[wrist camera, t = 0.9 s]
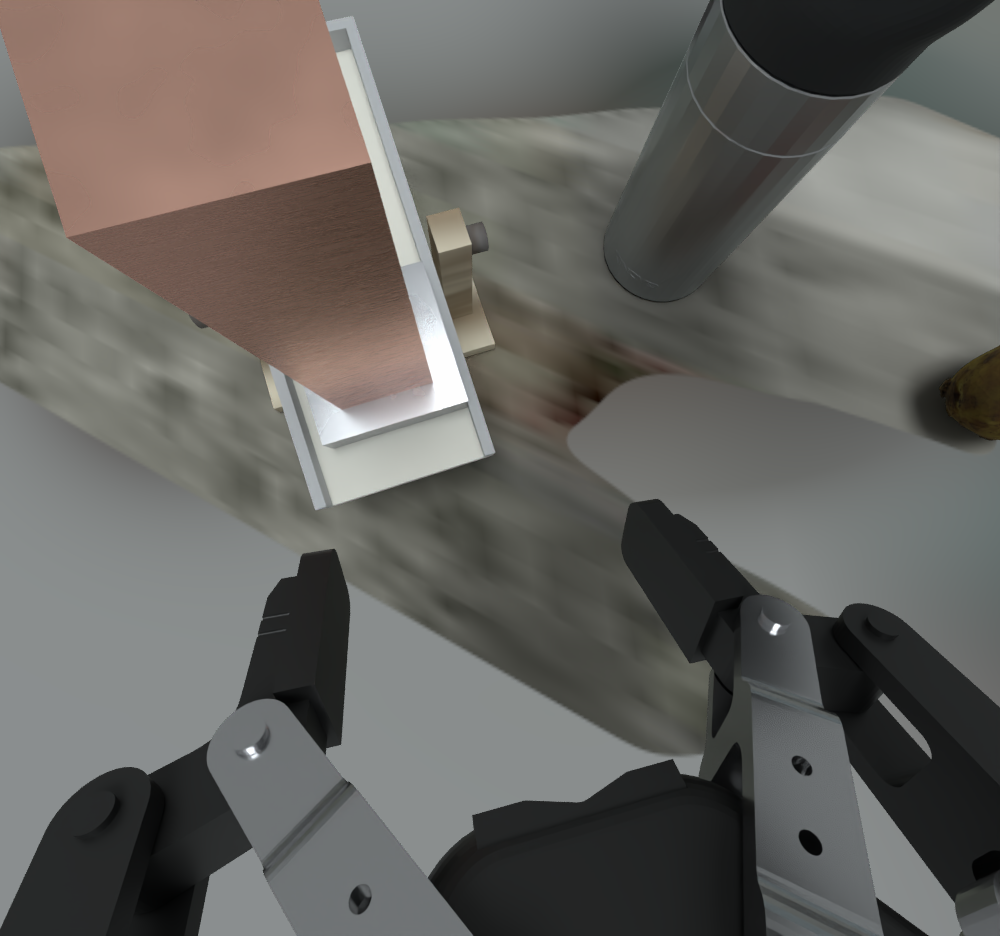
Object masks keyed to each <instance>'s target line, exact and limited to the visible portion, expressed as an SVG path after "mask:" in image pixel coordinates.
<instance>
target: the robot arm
mask: <svg viewBox="0 0 1000 936" xmlns="http://www.w3.org/2000/svg"><path fill="white" fill-rule="evenodd" d="M993 1H994V0H710V1H709V3H708V5H707V7H706V10H705V12H704V14H703V16H702V18H701V21H700V23H699V25H698V27H697V30H696V32H695V34H694V36H693V39H692V41H691V43H690V46H689V48H688V50H687V52H686V55H685V57H684V59H683V61H682V64H681V66H680V68H679V70H678V72H677V75H676V77H675V79H674V81H673V83H672V86H671V88H670V91H669V92H668V94H667V97H666V99H665V101H664V103H663V105H662V108H661V110H660V112H659V114H658V116H657V119H656V121H655V123H654V125H653V128H652V130H651V132H650V134H649V136H648V139H647V141H646V143H645V145H644V147H643V150H642V152H641V154H640V156H639V158H638V161H637V163H636V165H635V167H634V170H633V172H632V174H631V176H630V178H629V181H628V183H627V185H626V187H625V189H624V191H623V193H622V196H621V198H620V200H619V202H618V205H617V207H616V209H615V211H614V214H613V216H612V218H611V220H610V222H609V225H608V227H607V230H606V233H605V237H604V253H605V259H606V261H607V264H608V267H609V269H610V271H611V272H612V274H613V275H614V277H615V279H616V280H617V281H618V282H619V283H620V284H621V285H622V286H623V287H624V288H626V289H627V290H629V291H630V292H632V293H633V294H635V295H637V296H639V297H642V298H644V299H648V300H653V301H672V300H677V299H680V298H683V297H685V296H687V295H689V294H691V293H692V292H693V291H695V290H696V289H698V287H699V286H700V285H701V284H702V283H703V282H704V281H705V280H706V279H707V278H708V277H709V276H710V275H711V274H712V273H713V272H714V271H715V270H716V269H717V267H718V266H719V265H720V264H721V263H722V262H723V261H724V260H725V259H726V258H727V257H728V256H729V255H730V254H731V253H732V252H733V251H734V250H735V249H736V248H737V247H738V246H739V245H740V244H741V243H742V242H743V241H744V239H745V238H746V237H747V236H748V235H749V234H750V233H751V232H752V231H753V230H754V229H755V228H756V227H757V226H758V225H759V224H760V223H761V222H762V221H763V219H764V218H765V217H766V216H767V215H768V214H769V213H770V212H771V211H772V210H773V209H774V208H775V207H776V206H777V205H778V204H779V203H780V202H781V201H782V200H783V198H784V197H785V196H786V195H787V194H788V193H789V192H790V191H791V190H792V189H793V188H794V187H795V186H796V185H797V184H798V183H799V182H800V181H801V180H802V178H803V177H804V176H805V175H806V174H807V173H808V172H809V171H810V170H811V169H812V168H813V167H814V166H815V165H816V164H817V163H818V162H819V161H820V160H821V159H822V157H823V156H824V155H825V154H826V153H827V152H828V151H829V150H830V149H831V148H832V147H833V146H834V145H835V144H836V143H837V142H838V141H839V140H840V139H841V137H842V136H843V135H844V134H845V133H846V132H847V131H848V130H849V129H850V128H851V127H852V125H853V124H854V123H855V122H856V121H857V120H858V119H859V118H860V117H861V116H862V115H863V114H864V113H865V112H866V111H867V110H868V109H869V108H870V107H871V105H872V104H873V103H874V102H875V101H876V100H877V99H878V98H879V97H880V96H881V95H882V94H883V93H884V92H885V91H886V90H887V89H888V88H889V86H890V85H891V84H892V83H893V82H894V81H895V80H896V79H897V78H898V77H899V76H900V75H901V74H902V73H903V71H904V70H905V69H906V68H908V66H909V65H910V64H911V63H912V62H913V61H914V60H915V59H916V58H917V57H918V56H919V55H920V54H921V53H922V52H923V51H924V50H925V49H926V48H927V47H928V46H929V45H930V44H932V43H933V42H935V41H936V40H938V39H939V38H941V37H942V36H944V35H945V34H947V33H949V32H951V31H952V30H954V29H956V28H957V27H959V26H960V25H962V24H963V23H965V22H966V21H968V20H969V19H971V18H972V17H973V16H975V15H976V14H977V13H979V12H980V11H981V10H983V9H984V8H985V7H986V6H988V5H989V4H990V3H992V2H993ZM621 548H622V554H623V558H624V560H625V562H626V564H627V566H628V567H629V569H630V571H631V572H632V574H633V575H634V577H635V578H636V580H637V582H638V583H639V585H640V586H641V588H642V589H643V591H644V592H645V594H646V596H647V597H648V599H649V600H650V602H651V603H652V605H653V607H654V608H655V610H656V611H657V613H658V614H659V616H660V618H661V619H662V621H663V622H664V624H665V625H666V627H667V628H668V630H669V632H670V633H671V635H672V636H673V638H674V639H675V641H676V643H677V644H678V646H679V647H680V649H681V650H682V652H683V653H684V655H685V657H686V658H687V660H688V661H689V663H695V662H699V661H703V660H707V661H708V663H709V664H710V666H711V667H712V669H711V671H710V675H709V689H708V708H707V726H706V743H705V750H704V755H703V759H702V762H701V766H700V772H699V777H695V776H689V775H684V774H680V773H679V771H678V769H677V767H676V765H675V763H674V761H673V759H672V760H668V761H665V762H661V763H657V764H654V765H650V766H646V767H643V768H640V769H636V770H632V771H629V772H626V773H625V774H623V775H622V776H620V777H619V778H618V779H616V780H615V781H613V782H612V783H610V784H609V785H607V786H606V787H605V788H603V789H602V790H600V791H599V792H597V793H596V794H594V795H593V796H592V797H590V798H589V799H587V800H585V801H584V802H578V803H573V802H549V801H522V802H518V803H514V804H511V805H507V806H504V807H500V808H497V809H493V810H490V811H486V812H482V813H479V814H476V815H472V816H473V826H474V830H473V831H472V832H470V833H469V834H467V835H466V836H464V837H463V838H462V839H461V840H459V841H458V842H457V843H456V844H455V845H454V846H453V847H452V848H450V849H449V851H448V852H447V853H446V854H445V855H444V856H443V857H442V858H441V860H440V861H439V862H438V864H437V865H436V867H435V868H434V869H433V871H432V872H431V874H430V875H429V877H428V878H427V877H426V875H425V874H424V873H423V872H422V871H421V869H420V868H419V867H418V865H417V864H416V863H415V862H414V861H413V859H412V858H411V856H410V855H409V854H408V853H407V851H406V850H405V849H404V848H403V847H402V845H401V844H400V843H399V842H398V840H397V839H396V838H395V836H394V835H393V834H392V833H391V832H390V830H389V829H388V827H387V826H386V825H385V824H384V822H383V821H382V820H381V819H380V818H379V816H378V815H377V814H376V812H375V811H374V810H373V809H372V807H371V806H370V805H369V804H368V802H367V801H366V800H365V798H364V797H363V796H362V795H361V794H360V792H359V791H358V790H357V789H356V788H355V787H354V786H353V785H352V784H351V783H350V782H347V781H346V780H345V779H344V778H343V777H342V776H341V774H340V773H339V772H338V771H337V769H336V768H335V767H334V765H333V764H332V763H331V762H330V760H329V759H328V758H327V757H326V748H329V747H333V746H338V745H341V738H342V724H343V709H344V695H345V680H346V666H347V651H348V636H349V621H350V600H349V594H348V589H347V585H346V582H345V579H344V575H343V572H342V568H341V565H340V562H339V558H338V555H337V552H336V550H335V549H330V550H323V551H317V552H311V553H304V554H302V556H301V559H300V564H299V569H298V574H297V576H295V577H289V578H284V579H281V580H280V581H279V583H278V584H277V585H276V587H275V588H274V589H273V591H272V592H271V593H270V595H269V596H268V598H267V602H266V605H265V609H264V613H263V621H261V624H260V628H259V631H258V637H257V639H256V643H255V646H254V650H253V654H252V658H251V661H250V665H249V669H248V672H247V676H246V680H245V684H244V688H243V691H242V695H241V698H240V701H239V704H238V707H237V709H236V711H235V712H233V713H232V714H231V715H230V716H229V717H228V718H227V719H226V720H225V721H224V722H223V723H222V724H221V725H220V726H219V728H218V729H217V731H216V732H215V734H214V736H213V737H212V739H211V740H210V741H209V742H207V743H206V744H204V745H203V746H202V747H200V748H198V749H196V750H195V751H193V752H191V753H190V754H187V755H185V756H183V757H181V758H180V759H178V760H176V761H174V762H172V763H170V764H168V765H166V766H164V767H162V768H160V769H158V770H156V771H155V772H153V773H151V774H149V775H147V774H146V773H145V772H144V771H142V770H140V769H138V768H133V767H124V768H119V769H115V770H112V771H109V772H107V773H105V774H103V775H101V776H99V777H97V778H96V779H94V780H92V781H90V782H89V783H87V784H86V785H85V786H83V787H82V788H81V789H80V790H78V792H76V793H75V794H74V795H73V796H72V797H71V798H70V799H69V800H68V801H67V802H66V803H65V804H64V805H63V806H62V807H61V809H60V810H59V811H58V812H57V813H56V815H55V816H54V818H53V819H52V821H51V822H50V824H49V826H48V827H47V829H46V831H45V833H44V835H43V838H42V840H41V842H40V844H39V846H38V848H37V851H36V853H35V855H34V857H33V859H32V862H31V864H30V866H29V868H28V870H27V872H26V874H25V877H24V879H23V881H22V883H21V885H20V888H19V890H18V892H17V894H16V896H15V898H14V901H13V903H12V905H11V907H10V909H9V911H8V914H7V916H6V918H5V920H4V922H3V924H2V927H1V929H0V936H198V932H199V927H200V922H201V917H202V912H203V907H204V902H205V896H206V892H207V886H208V881H209V876H210V875H211V874H212V873H214V872H215V871H217V870H218V869H220V868H221V867H223V866H225V865H226V864H228V863H229V862H231V861H233V860H234V859H236V858H237V857H239V856H240V855H242V854H244V853H245V852H247V851H248V850H250V849H251V848H254V850H255V852H256V854H257V856H258V857H259V859H260V861H261V863H262V865H263V868H264V870H263V873H264V876H265V878H266V880H267V882H268V884H269V886H270V888H271V890H272V892H273V894H274V895H275V897H276V899H277V901H278V903H279V904H280V906H281V908H282V910H283V912H284V913H285V915H286V917H287V919H288V921H289V922H290V924H291V926H292V928H293V930H294V931H295V933H296V935H297V936H928V935H927V934H925V933H924V932H923V931H921V930H920V929H919V928H917V927H916V926H915V925H913V924H912V923H910V922H909V921H908V920H906V919H905V918H904V917H902V916H901V915H900V914H898V913H897V912H896V911H894V910H893V909H892V908H890V907H889V906H887V905H886V904H885V903H883V902H882V901H881V900H879V899H878V898H876V896H875V890H874V886H873V880H872V875H871V870H870V865H869V859H868V854H867V849H866V844H865V839H864V834H863V828H862V823H861V819H860V813H859V808H858V803H857V798H856V793H855V787H854V782H853V777H852V772H851V767H850V764H851V765H852V766H853V767H854V769H855V770H856V772H857V773H858V774H859V775H860V777H861V778H862V780H863V781H864V782H865V784H866V785H867V786H868V788H869V789H870V790H871V792H872V793H873V794H874V795H875V797H876V798H877V800H878V801H879V802H880V804H881V805H882V806H883V808H884V809H885V810H886V812H887V813H888V814H889V815H890V817H891V818H892V819H893V821H894V822H895V824H896V825H897V826H898V828H899V829H900V830H901V832H902V833H903V834H904V836H905V837H906V838H907V840H908V841H909V842H910V844H911V845H912V846H913V848H914V849H915V850H916V852H917V853H918V854H919V856H920V857H921V858H922V860H923V861H924V862H925V864H926V865H927V866H928V868H929V869H930V870H931V872H932V873H933V874H934V876H935V877H936V878H937V880H938V881H939V883H940V884H941V885H942V886H943V888H944V889H945V890H946V892H947V893H948V895H949V896H950V897H951V899H952V900H953V901H954V902H955V908H956V914H957V918H958V921H959V924H960V926H961V929H962V932H961V933H960V936H1000V707H999V706H997V705H996V704H995V703H994V702H993V701H992V700H991V699H990V698H989V697H988V696H986V695H985V694H984V693H983V692H982V691H981V690H980V689H979V688H978V687H976V686H975V685H974V684H973V683H972V682H971V681H970V680H969V679H968V678H966V677H965V676H964V675H963V674H962V673H961V672H960V671H959V670H957V669H956V668H955V667H954V666H953V665H952V664H951V663H950V662H949V661H947V660H946V659H945V658H944V657H943V656H942V655H941V654H940V653H939V652H938V651H936V650H935V649H934V648H933V647H932V646H931V645H930V644H929V643H928V642H927V641H925V640H924V639H923V638H922V637H921V636H920V635H919V634H918V633H917V632H915V631H914V630H913V629H912V628H911V627H910V626H909V625H908V624H906V623H905V622H904V621H903V620H901V619H900V618H899V617H897V616H895V615H894V614H892V613H890V612H888V611H886V610H884V609H882V608H879V607H876V606H873V605H869V604H860V603H857V604H851V605H849V606H847V607H846V608H845V609H844V610H843V612H842V614H841V615H840V616H839V618H832V617H821V616H810V615H802V614H801V613H800V612H799V611H798V610H796V609H795V608H794V607H793V606H791V605H790V604H788V603H786V602H785V601H783V600H780V599H778V598H775V597H772V596H768V595H760V594H759V593H758V592H757V591H756V590H755V589H754V588H753V587H752V585H751V584H750V583H749V582H748V581H747V580H746V579H745V578H744V577H743V576H742V575H741V573H740V572H739V571H738V570H737V569H736V568H735V567H734V566H733V565H732V564H731V563H730V561H729V560H728V559H727V558H726V557H725V556H724V555H723V554H722V553H721V552H718V548H717V547H716V546H715V545H714V544H713V543H712V542H711V541H709V540H708V537H707V536H706V535H705V534H704V533H703V532H702V531H701V530H700V529H699V527H697V525H696V524H694V523H693V522H691V521H689V520H688V519H686V518H684V517H683V516H681V515H679V514H675V515H673V514H672V513H671V511H670V510H669V509H668V508H667V507H666V506H665V505H664V503H662V501H660V500H658V499H653V500H647V501H641V502H634V503H631V504H630V506H629V508H628V513H627V518H626V523H625V527H624V532H623V537H622V543H621ZM883 693H884V694H885V695H886V696H887V697H888V698H889V699H890V700H891V702H892V703H893V704H894V705H895V706H896V707H897V708H898V709H899V710H900V711H901V712H902V713H903V715H904V716H905V717H906V718H907V719H908V720H909V721H910V722H911V723H912V725H913V726H914V727H916V729H917V730H918V731H919V732H920V733H921V734H922V735H923V737H924V738H925V740H926V741H927V743H928V745H929V747H930V750H931V753H932V759H930V757H929V756H928V755H927V754H926V753H925V752H924V751H923V750H922V749H921V747H920V746H919V745H918V744H917V743H916V742H915V741H914V740H913V738H912V737H911V736H910V735H909V734H908V733H907V732H906V731H905V730H904V728H903V727H902V726H901V725H900V724H899V723H898V722H897V720H896V719H895V718H894V717H893V716H892V715H891V714H890V713H889V712H888V710H887V709H886V708H885V707H884V706H883V705H882V704H881V703H880V701H879V700H878V698H879V697H880V696H881V695H882V694H883Z"/></svg>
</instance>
